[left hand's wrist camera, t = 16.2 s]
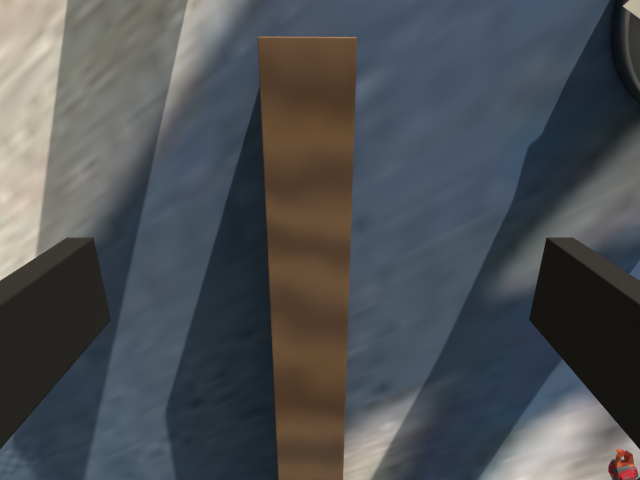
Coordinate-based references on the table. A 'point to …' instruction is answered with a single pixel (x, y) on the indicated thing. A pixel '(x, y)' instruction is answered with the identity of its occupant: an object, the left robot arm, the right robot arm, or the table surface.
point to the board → (308, 242)
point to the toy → (623, 467)
